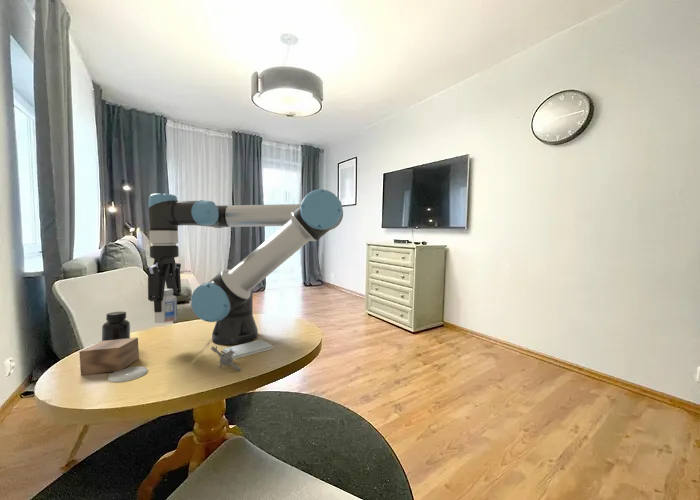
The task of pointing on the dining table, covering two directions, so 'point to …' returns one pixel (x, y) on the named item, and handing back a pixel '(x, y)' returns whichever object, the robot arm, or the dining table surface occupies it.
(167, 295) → the pill bottle
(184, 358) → the dining table surface
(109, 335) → the supplement bottle
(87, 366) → the walnut block
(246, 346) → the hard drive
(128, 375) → the grey coaster
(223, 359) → the grey cross-shaped piece
